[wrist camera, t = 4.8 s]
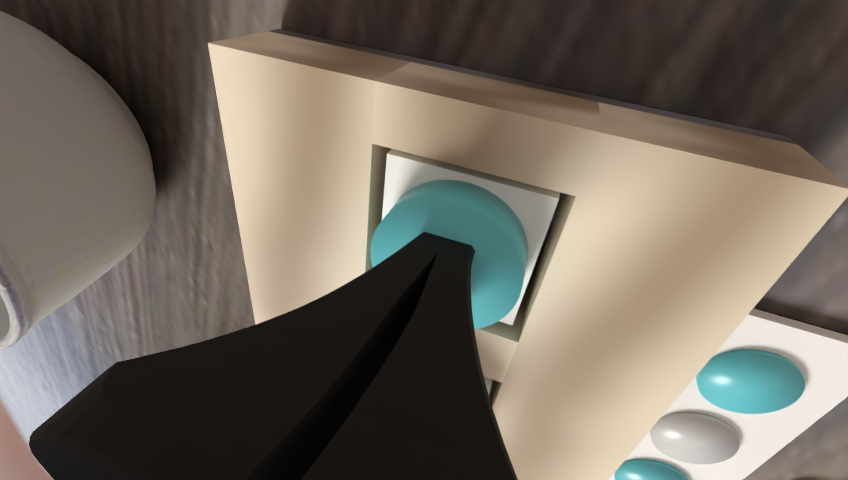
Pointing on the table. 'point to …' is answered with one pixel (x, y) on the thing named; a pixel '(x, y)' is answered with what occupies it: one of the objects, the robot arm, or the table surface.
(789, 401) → the card
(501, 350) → the button board
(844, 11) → the table surface
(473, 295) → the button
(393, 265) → the robot arm
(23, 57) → the teacup
